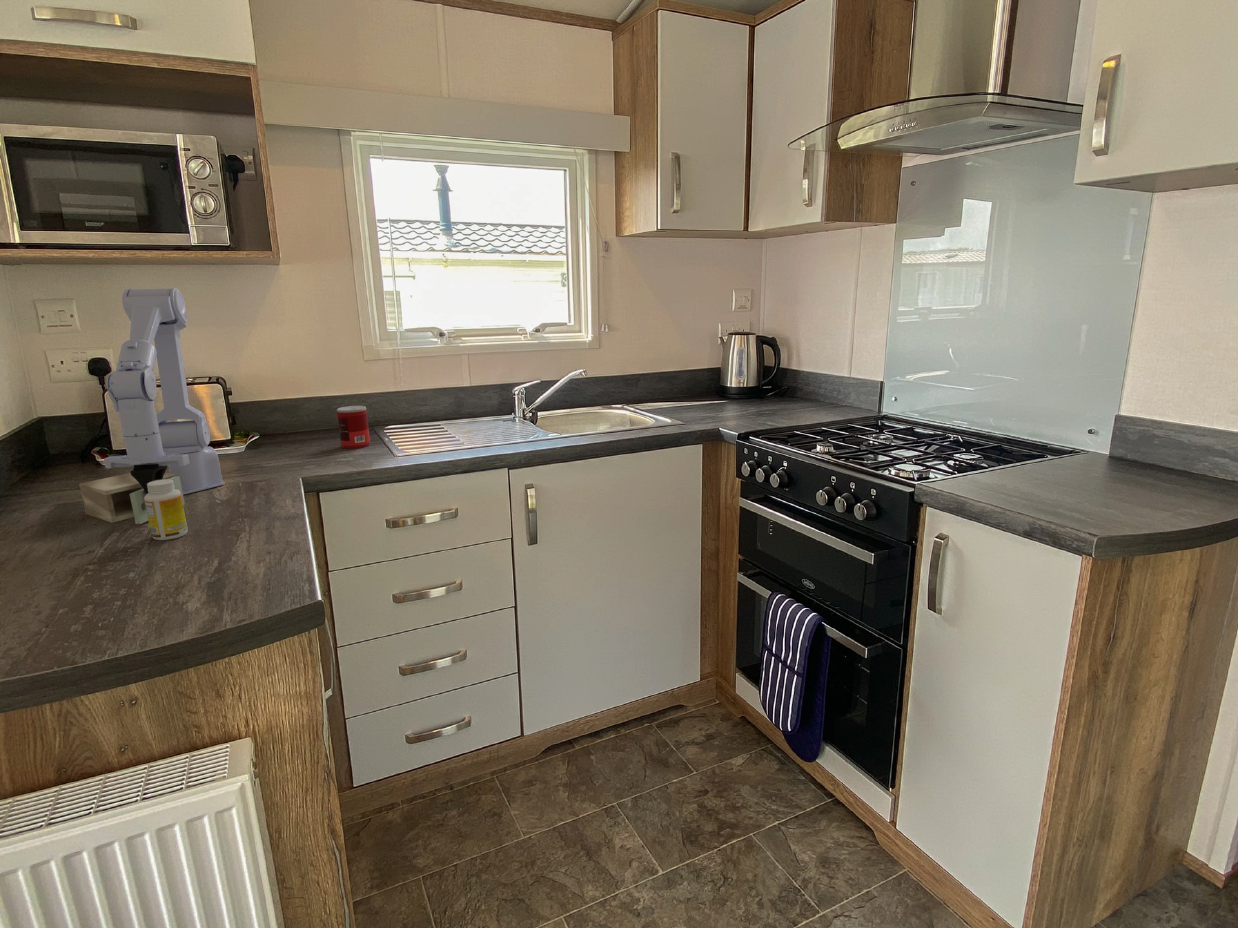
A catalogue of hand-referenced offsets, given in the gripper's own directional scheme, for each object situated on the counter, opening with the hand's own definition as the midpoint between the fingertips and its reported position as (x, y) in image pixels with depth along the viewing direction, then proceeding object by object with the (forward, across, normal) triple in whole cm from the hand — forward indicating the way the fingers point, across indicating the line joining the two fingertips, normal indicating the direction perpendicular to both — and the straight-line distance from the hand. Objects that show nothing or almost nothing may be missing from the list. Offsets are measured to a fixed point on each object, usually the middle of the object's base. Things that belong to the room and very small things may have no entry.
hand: (155, 502), depth 133 cm
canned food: (+4, +18, +63) cm, 65 cm away
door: (+3, -1, +3) cm, 4 cm away
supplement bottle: (+4, +8, -10) cm, 13 cm away
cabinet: (+4, -9, +8) cm, 12 cm away
